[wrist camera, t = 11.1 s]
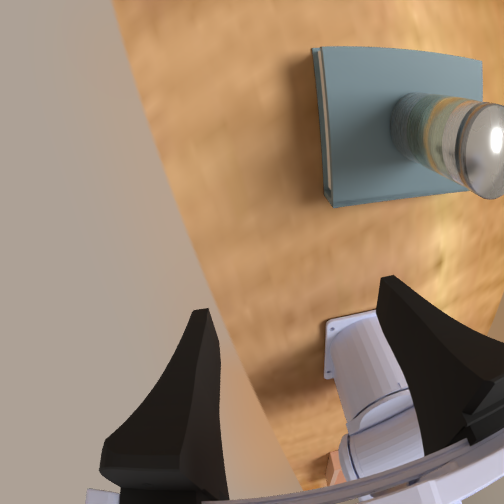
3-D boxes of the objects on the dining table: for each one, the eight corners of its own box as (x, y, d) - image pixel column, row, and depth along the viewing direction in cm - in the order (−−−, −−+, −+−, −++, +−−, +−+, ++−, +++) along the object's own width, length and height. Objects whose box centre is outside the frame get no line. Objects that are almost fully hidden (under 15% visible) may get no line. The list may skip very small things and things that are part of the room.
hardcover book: (457, 178, 22) (474, 190, 20) (323, 193, 22) (333, 208, 20) (461, 57, 16) (481, 61, 14) (310, 48, 16) (322, 46, 14)
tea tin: (449, 152, 18) (523, 186, 12) (396, 169, 18) (468, 211, 12) (438, 86, 16) (519, 99, 10) (381, 98, 16) (459, 111, 10)
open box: (394, 455, 58) (398, 469, 55) (325, 474, 58) (328, 489, 55) (413, 427, 49) (420, 444, 45) (330, 452, 49) (334, 470, 46)
